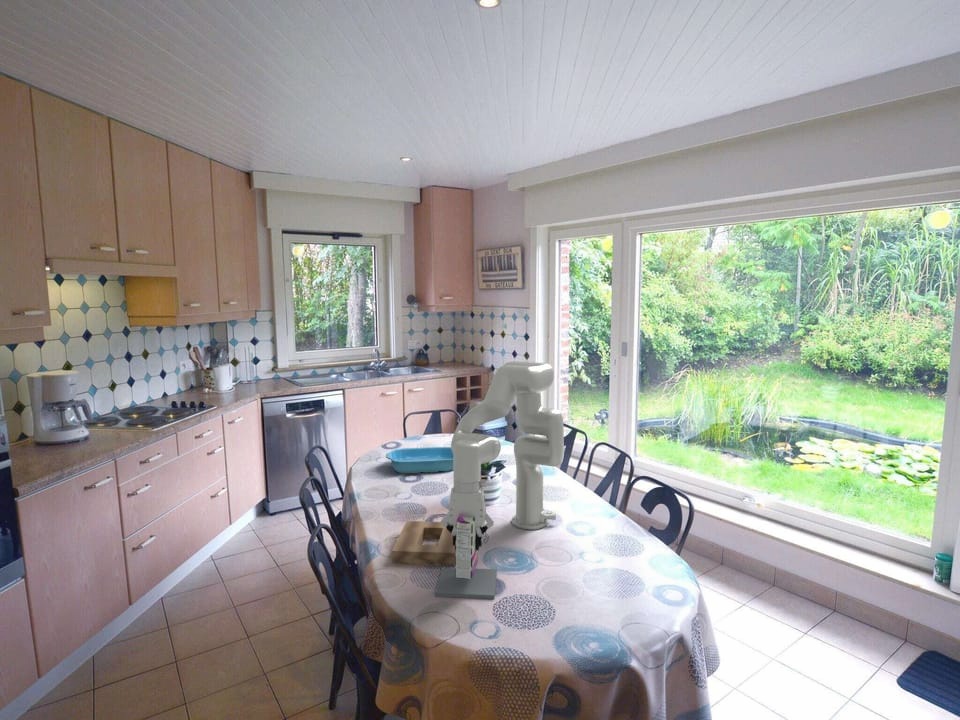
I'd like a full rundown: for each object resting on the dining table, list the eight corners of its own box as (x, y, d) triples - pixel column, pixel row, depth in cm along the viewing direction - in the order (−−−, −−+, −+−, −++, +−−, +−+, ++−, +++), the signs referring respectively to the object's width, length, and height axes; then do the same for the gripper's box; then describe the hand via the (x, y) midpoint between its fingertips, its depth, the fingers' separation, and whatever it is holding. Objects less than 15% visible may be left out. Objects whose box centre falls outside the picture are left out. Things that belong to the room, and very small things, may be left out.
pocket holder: (464, 534, 186) (464, 522, 185) (457, 565, 164) (457, 553, 163) (406, 532, 187) (406, 520, 187) (391, 563, 165) (391, 550, 165)
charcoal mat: (496, 572, 160) (496, 569, 160) (494, 598, 146) (494, 595, 146) (442, 570, 161) (442, 567, 161) (435, 596, 147) (435, 592, 147)
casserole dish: (460, 458, 272) (460, 444, 271) (467, 472, 250) (467, 457, 249) (385, 462, 265) (385, 448, 264) (386, 477, 243) (386, 462, 242)
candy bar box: (461, 559, 159) (462, 505, 157) (478, 560, 158) (480, 506, 156) (453, 578, 148) (455, 520, 146) (471, 580, 147) (473, 522, 145)
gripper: (498, 481, 153) (498, 542, 155) (438, 479, 155) (438, 540, 157) (497, 490, 146) (497, 555, 148) (434, 489, 147) (434, 553, 149)
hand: (467, 547), depth 152 cm, fingers closed on candy bar box, 5 cm apart
